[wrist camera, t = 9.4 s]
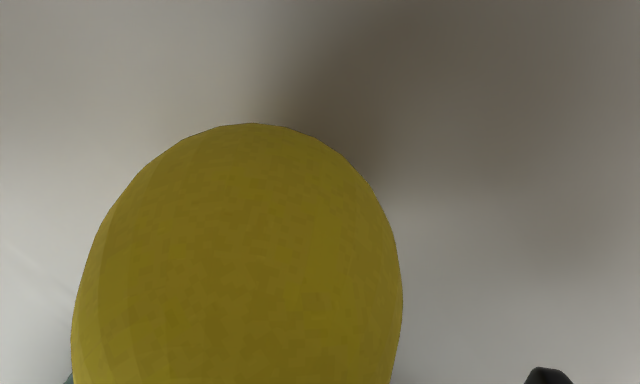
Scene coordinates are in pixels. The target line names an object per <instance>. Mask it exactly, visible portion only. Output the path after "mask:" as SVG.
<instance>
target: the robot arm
mask: <svg viewBox="0 0 640 384" xmlns="http://www.w3.org/2000/svg"><path fill="white" fill-rule="evenodd" d="M524 384H573V382H572V381H571V380H570V379H569V378H568V377H567V376H566V375H565V374H564V373H563V372H562V371H560V370H557V369H550V368H543V367H536V368H534V369H533V370H532V371H531V372H530V374H529V376H528V377H527V379H526V381H525V382H524Z"/></svg>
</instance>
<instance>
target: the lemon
mask: <svg viewBox="0 0 640 384" xmlns="http://www.w3.org/2000/svg"><path fill="white" fill-rule="evenodd" d="M402 311H403V290H402V281H401V274H400V268H399V262H398V255H397V249H396V243H395V240H394V236H393V232H392V229H391V227H390V224H389V222H388V219H387V217H386V215H385V213H384V212H383V210H382V208H381V206H380V204H379V202H378V200H377V198H376V196H375V194H374V192H373V190H372V189H371V187H370V185H369V184H368V182H367V181H366V180H365V179H364V178H363V177H362V176H361V175H360V174H359V173H358V172H357V171H356V170H355V168H354V167H353V166H352V165H351V164H350V163H349V162H348V161H347V160H346V159H345V158H344V157H343V156H342V155H341V154H339V153H338V152H336V151H335V150H333V149H332V148H330V147H329V146H327V145H325V144H324V143H322V142H321V141H319V140H318V139H316V138H314V137H311V136H308V135H306V134H303V133H300V132H297V131H295V130H292V129H289V128H286V127H282V126H274V125H266V124H259V123H246V124H236V125H227V126H219V127H216V128H213V129H210V130H207V131H204V132H202V133H199V134H196V135H193V136H190V137H188V138H186V139H183V140H181V141H180V142H178V143H177V144H175V145H174V146H172V147H171V148H170V149H168V150H167V151H165V152H164V153H162V154H161V155H159V156H158V157H156V158H155V159H154V160H152V161H151V162H150V163H148V164H147V165H146V166H145V167H144V168H143V169H142V170H141V171H140V172H139V173H138V174H137V175H136V176H135V177H134V179H133V180H132V181H131V183H130V184H129V185H128V186H127V188H126V189H125V190H124V192H123V193H122V194H121V196H120V197H119V198H118V200H117V201H116V202H115V204H114V205H113V206H112V207H111V209H110V210H109V212H108V213H107V215H106V217H105V218H104V220H103V222H102V223H101V225H100V227H99V230H98V232H97V234H96V236H95V238H94V241H93V244H92V247H91V250H90V252H89V255H88V259H87V262H86V265H85V269H84V272H83V275H82V279H81V282H80V286H79V289H78V293H77V297H76V302H75V307H74V313H73V318H72V329H71V361H72V372H73V382H74V384H389V383H390V379H391V375H392V370H393V365H394V361H395V356H396V351H397V346H398V342H399V337H400V330H401V323H402Z"/></svg>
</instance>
